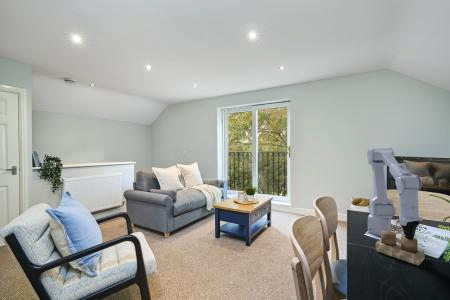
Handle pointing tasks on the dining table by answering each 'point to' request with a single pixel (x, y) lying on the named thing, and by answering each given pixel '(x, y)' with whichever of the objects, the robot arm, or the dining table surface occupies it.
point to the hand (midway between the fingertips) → (409, 238)
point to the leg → (409, 245)
